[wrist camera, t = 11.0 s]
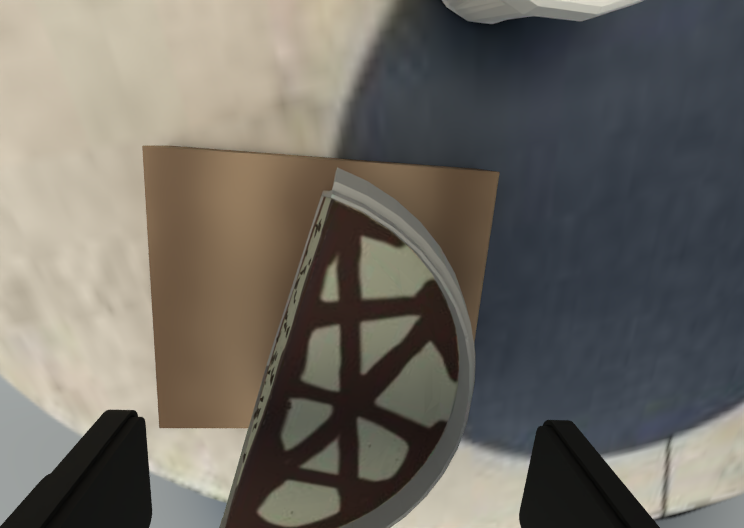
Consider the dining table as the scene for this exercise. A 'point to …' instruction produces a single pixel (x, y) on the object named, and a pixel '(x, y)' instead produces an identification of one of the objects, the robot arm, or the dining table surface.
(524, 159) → the dining table surface
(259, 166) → the walnut base
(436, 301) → the food container
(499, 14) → the cup
